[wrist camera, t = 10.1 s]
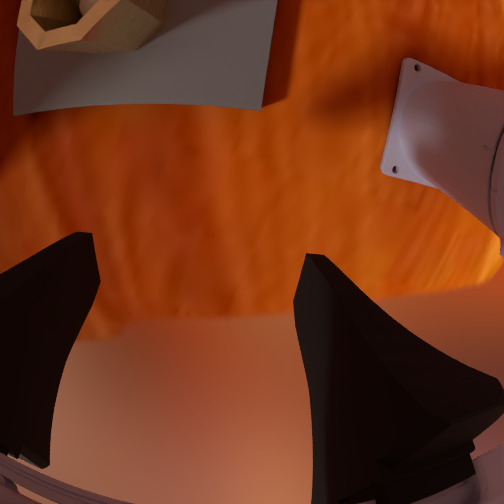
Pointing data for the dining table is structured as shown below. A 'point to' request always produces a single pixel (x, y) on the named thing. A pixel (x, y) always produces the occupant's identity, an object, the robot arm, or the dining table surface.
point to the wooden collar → (91, 24)
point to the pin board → (158, 62)
